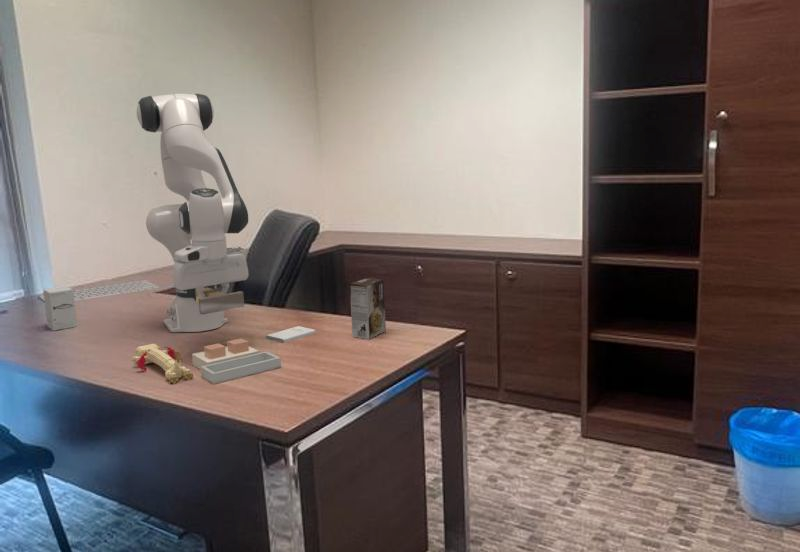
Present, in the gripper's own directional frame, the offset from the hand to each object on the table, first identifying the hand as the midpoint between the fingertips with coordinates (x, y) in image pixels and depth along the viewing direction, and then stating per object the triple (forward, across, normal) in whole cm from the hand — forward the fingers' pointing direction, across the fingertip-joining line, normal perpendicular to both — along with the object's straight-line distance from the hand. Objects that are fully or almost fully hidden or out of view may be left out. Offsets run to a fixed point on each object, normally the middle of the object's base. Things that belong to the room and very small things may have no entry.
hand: (213, 301), depth 185 cm
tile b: (+12, -1, +11) cm, 16 cm away
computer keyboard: (+17, -2, -115) cm, 116 cm away
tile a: (+12, +6, +11) cm, 17 cm away
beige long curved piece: (+15, +17, +3) cm, 23 cm away
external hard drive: (+15, -24, -1) cm, 28 cm away
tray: (+14, +3, +19) cm, 24 cm away
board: (+15, +2, +10) cm, 18 cm away
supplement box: (+16, +24, -66) cm, 71 cm away
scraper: (+2, 0, -2) cm, 3 cm away
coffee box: (+15, -40, +15) cm, 46 cm away
